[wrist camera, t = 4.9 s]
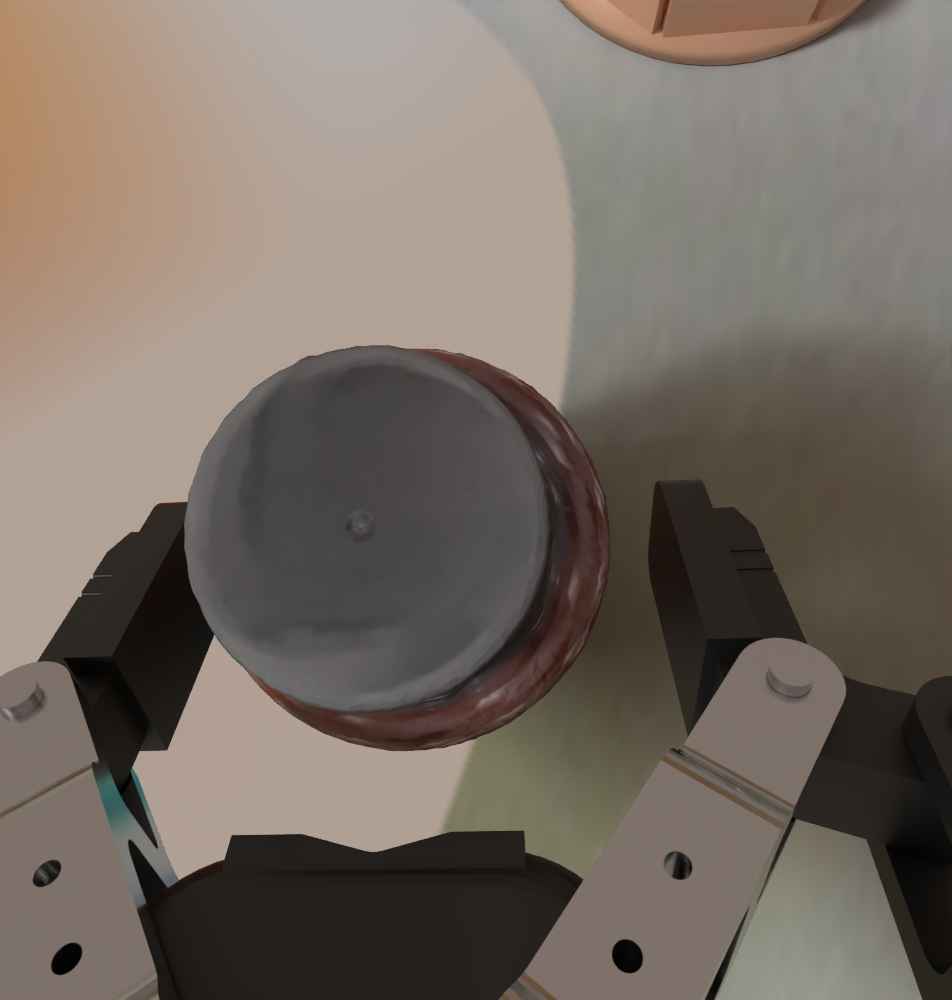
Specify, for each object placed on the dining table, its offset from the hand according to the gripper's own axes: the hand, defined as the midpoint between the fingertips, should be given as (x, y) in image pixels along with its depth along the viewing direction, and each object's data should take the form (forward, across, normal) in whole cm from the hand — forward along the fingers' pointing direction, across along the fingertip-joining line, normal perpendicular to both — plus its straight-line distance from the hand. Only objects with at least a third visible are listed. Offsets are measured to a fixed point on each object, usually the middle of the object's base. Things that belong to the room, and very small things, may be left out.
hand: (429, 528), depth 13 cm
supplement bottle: (+4, 0, +5) cm, 6 cm away
